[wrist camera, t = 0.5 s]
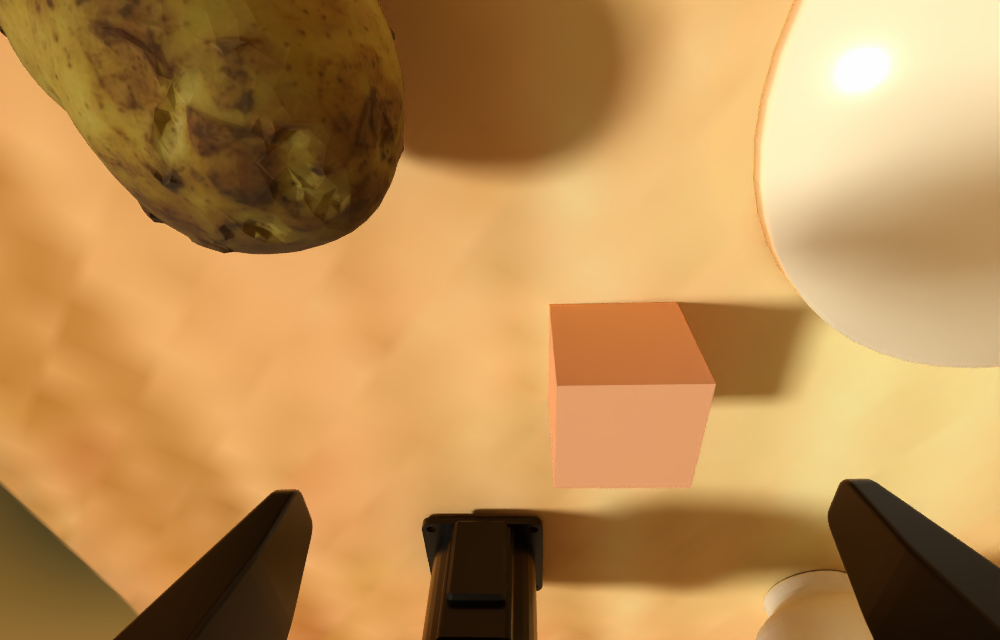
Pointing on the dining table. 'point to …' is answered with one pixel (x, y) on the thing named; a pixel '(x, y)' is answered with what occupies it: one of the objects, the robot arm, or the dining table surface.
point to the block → (625, 396)
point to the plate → (888, 173)
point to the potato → (228, 109)
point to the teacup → (813, 609)
